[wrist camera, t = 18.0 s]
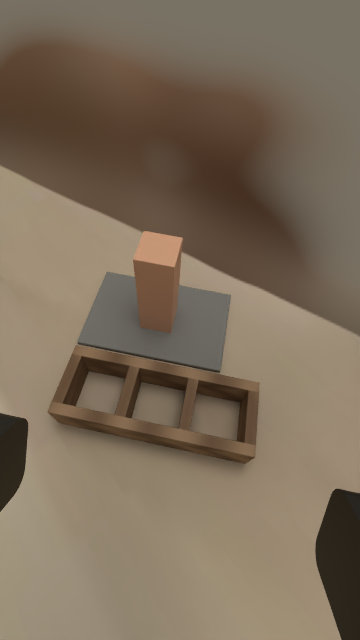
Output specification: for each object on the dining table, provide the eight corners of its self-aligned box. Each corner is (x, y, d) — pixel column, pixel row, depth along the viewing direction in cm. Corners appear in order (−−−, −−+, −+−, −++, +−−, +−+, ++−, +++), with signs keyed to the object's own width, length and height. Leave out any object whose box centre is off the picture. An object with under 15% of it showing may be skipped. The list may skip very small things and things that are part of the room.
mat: (230, 297, 50) (230, 295, 49) (219, 372, 43) (220, 370, 42) (107, 274, 51) (107, 271, 51) (78, 343, 44) (77, 341, 44)
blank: (177, 307, 48) (182, 237, 36) (170, 333, 45) (174, 267, 33) (147, 302, 48) (143, 230, 36) (140, 327, 45) (133, 259, 34)
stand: (250, 395, 41) (259, 382, 38) (245, 463, 37) (254, 457, 33) (83, 360, 43) (75, 345, 39) (58, 422, 38) (47, 411, 35)
